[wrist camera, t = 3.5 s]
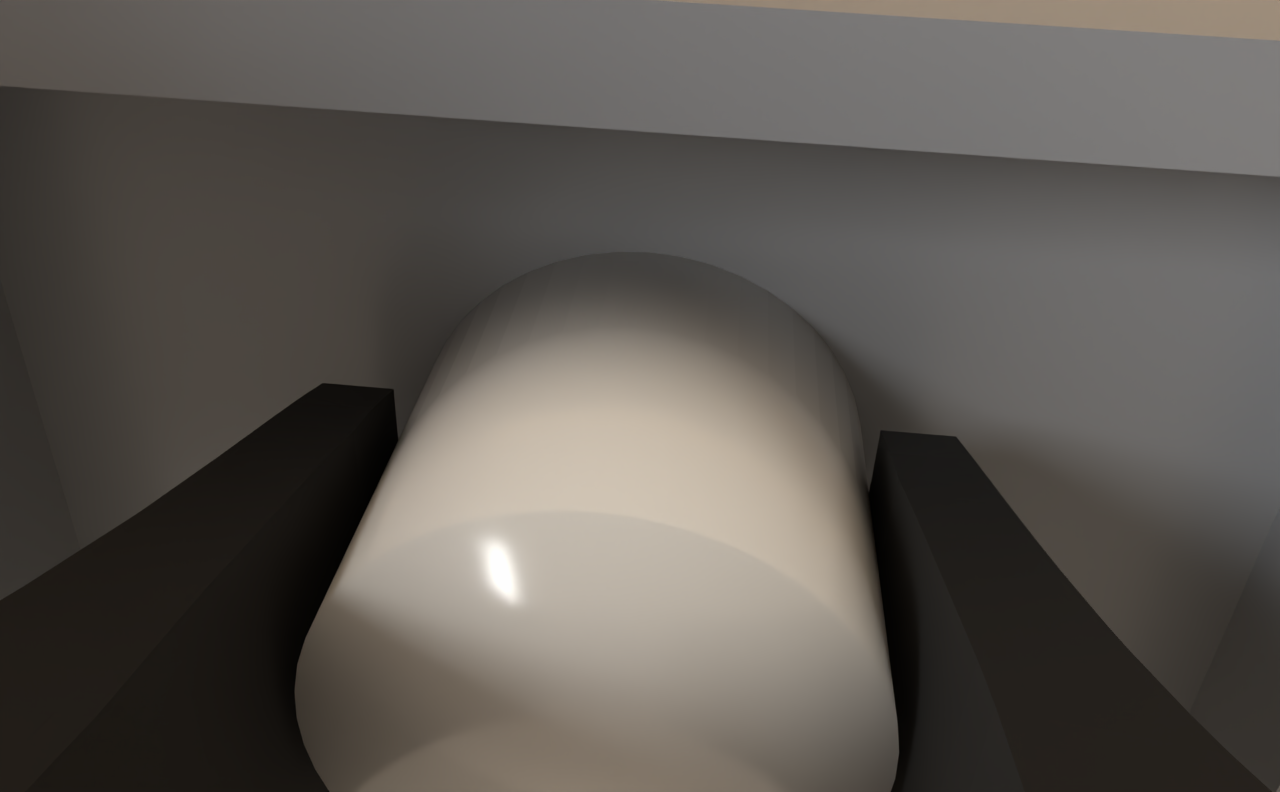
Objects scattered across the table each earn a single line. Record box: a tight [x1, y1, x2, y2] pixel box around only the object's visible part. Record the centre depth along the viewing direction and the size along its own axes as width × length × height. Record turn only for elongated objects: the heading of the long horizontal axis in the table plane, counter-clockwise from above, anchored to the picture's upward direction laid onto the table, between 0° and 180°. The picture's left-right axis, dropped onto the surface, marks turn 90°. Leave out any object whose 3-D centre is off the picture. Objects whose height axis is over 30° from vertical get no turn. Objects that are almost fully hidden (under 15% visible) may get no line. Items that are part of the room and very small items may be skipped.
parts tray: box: [0, 0, 1280, 792], centre depth 12 cm, size 16×13×2 cm
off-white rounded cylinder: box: [294, 252, 899, 792], centre depth 9 cm, size 4×4×3 cm
